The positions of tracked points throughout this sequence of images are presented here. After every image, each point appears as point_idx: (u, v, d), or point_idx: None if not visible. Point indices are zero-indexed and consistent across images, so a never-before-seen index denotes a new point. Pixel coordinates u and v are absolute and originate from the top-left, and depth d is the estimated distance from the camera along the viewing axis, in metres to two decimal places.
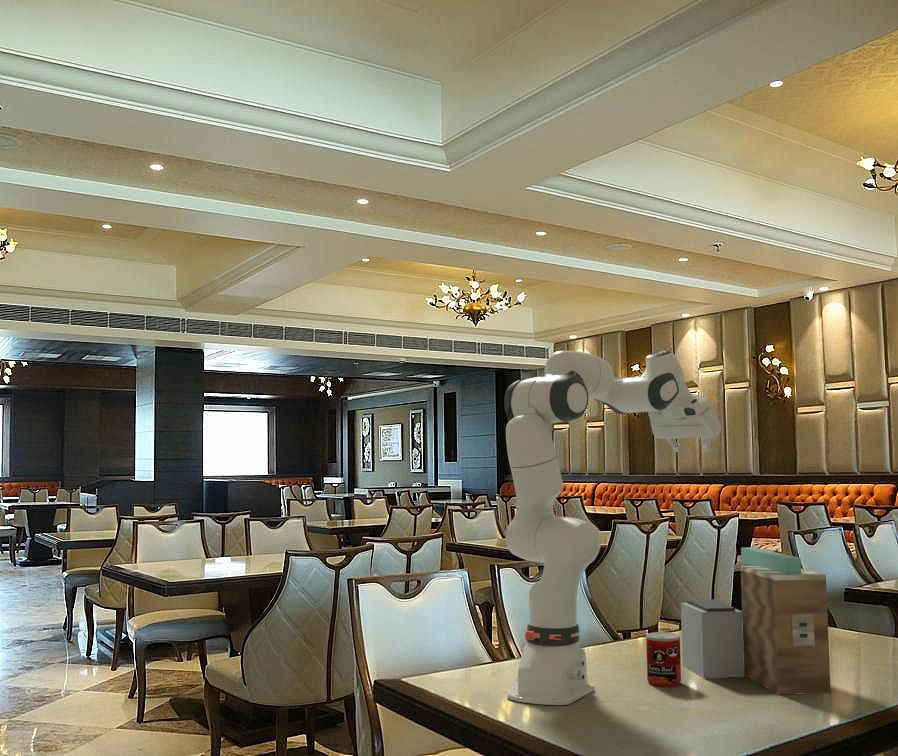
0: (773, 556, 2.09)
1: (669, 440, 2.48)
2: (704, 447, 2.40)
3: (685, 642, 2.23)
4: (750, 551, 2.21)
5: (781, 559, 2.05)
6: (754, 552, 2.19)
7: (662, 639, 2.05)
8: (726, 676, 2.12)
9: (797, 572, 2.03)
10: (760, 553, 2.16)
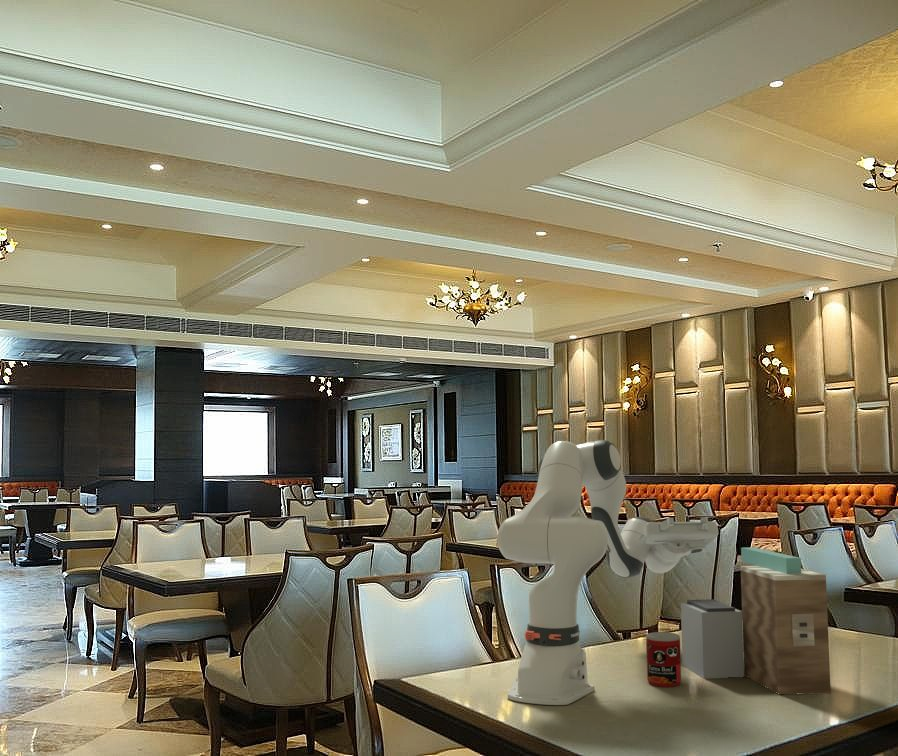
0: (773, 556, 2.09)
1: None
2: None
3: (685, 642, 2.23)
4: (750, 551, 2.21)
5: (781, 559, 2.05)
6: (754, 552, 2.19)
7: (662, 639, 2.05)
8: (726, 676, 2.12)
9: (797, 572, 2.03)
10: (760, 553, 2.16)
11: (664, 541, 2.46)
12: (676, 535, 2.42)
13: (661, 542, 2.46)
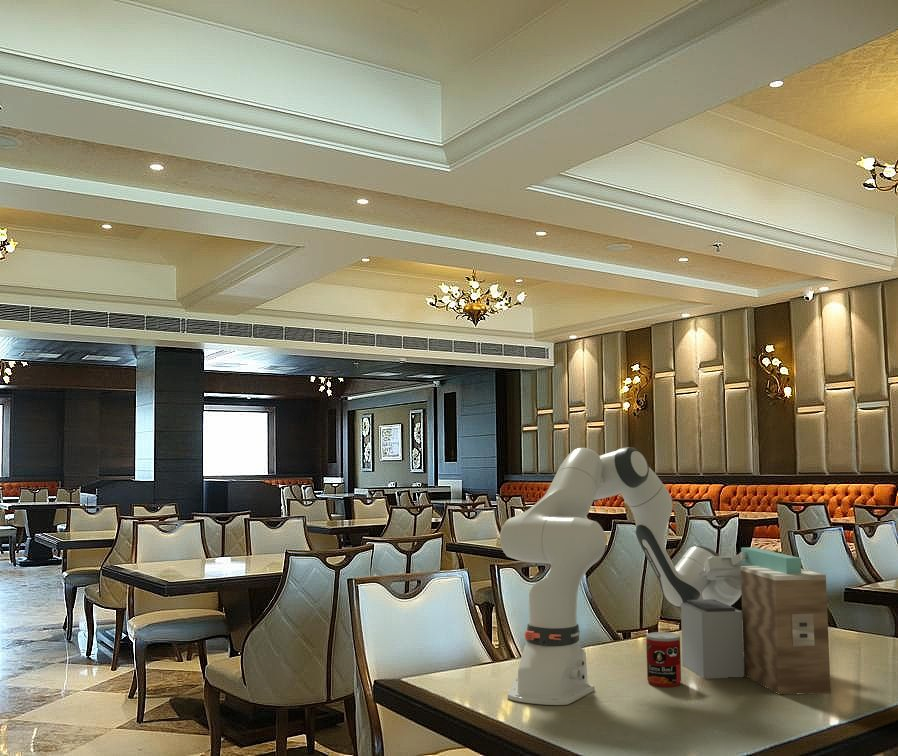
0: (773, 556, 2.09)
1: None
2: None
3: (685, 642, 2.23)
4: (750, 551, 2.21)
5: (781, 559, 2.05)
6: (754, 552, 2.19)
7: (662, 639, 2.05)
8: (726, 676, 2.12)
9: (797, 572, 2.03)
10: (760, 553, 2.16)
11: (726, 576, 2.30)
12: None
13: (723, 577, 2.30)
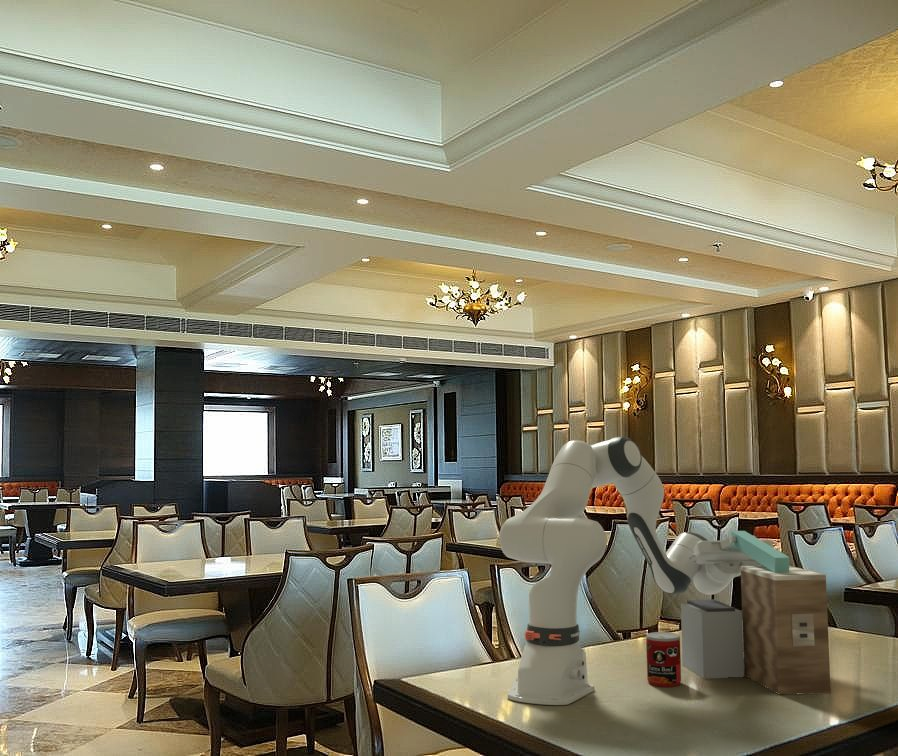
0: (762, 551, 2.10)
1: None
2: None
3: (685, 642, 2.23)
4: (740, 538, 2.23)
5: (770, 557, 2.07)
6: (744, 540, 2.20)
7: (662, 639, 2.05)
8: (726, 676, 2.12)
9: (785, 571, 2.05)
10: (750, 543, 2.17)
11: (716, 561, 2.32)
12: (730, 554, 2.28)
13: (713, 562, 2.32)
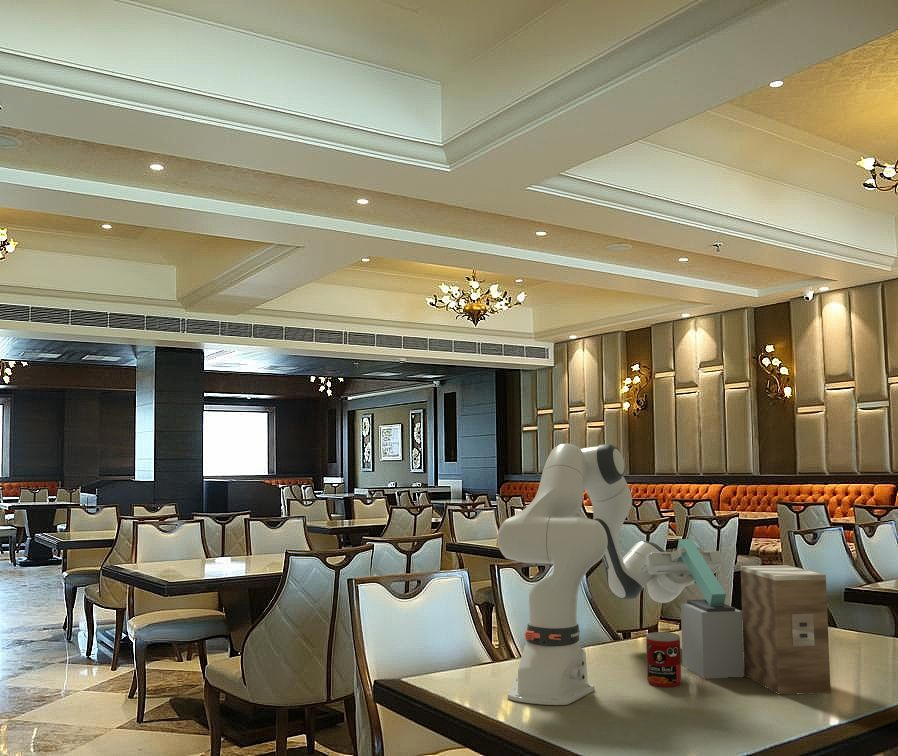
0: (702, 580, 2.21)
1: None
2: None
3: (685, 642, 2.23)
4: None
5: (708, 590, 2.18)
6: (688, 557, 2.31)
7: (662, 639, 2.05)
8: (726, 676, 2.12)
9: (720, 605, 2.17)
10: (693, 564, 2.28)
11: (667, 571, 2.40)
12: (680, 565, 2.37)
13: (664, 572, 2.40)
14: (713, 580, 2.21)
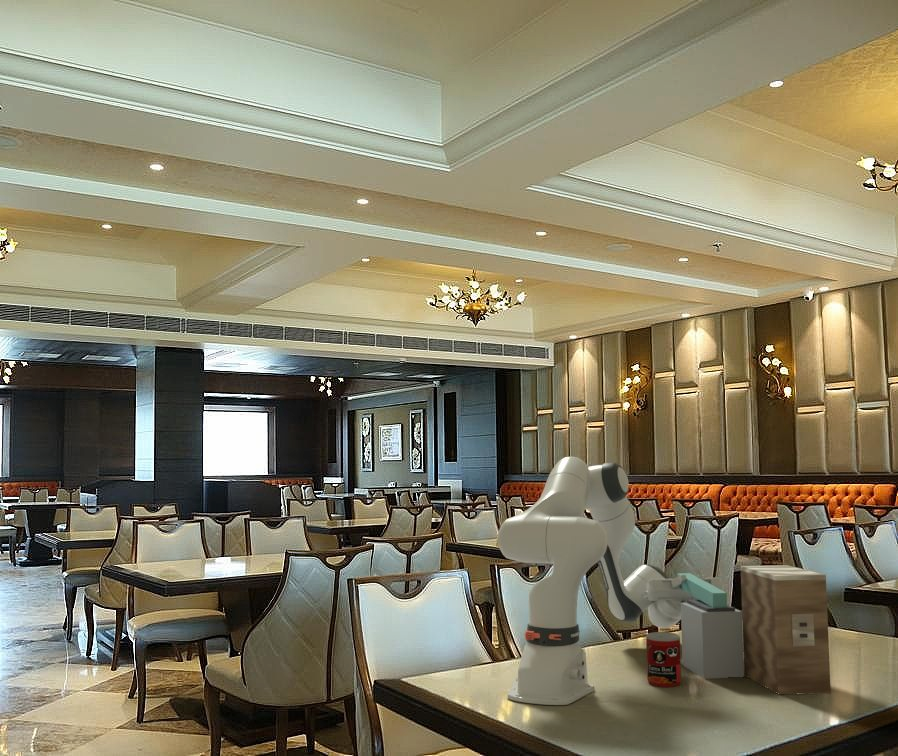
0: (702, 588, 2.21)
1: None
2: None
3: (685, 642, 2.23)
4: None
5: (709, 593, 2.17)
6: (687, 580, 2.31)
7: (662, 639, 2.05)
8: (726, 676, 2.12)
9: (723, 606, 2.15)
10: (692, 583, 2.28)
11: (668, 598, 2.39)
12: (680, 592, 2.36)
13: (665, 599, 2.39)
14: (713, 588, 2.21)
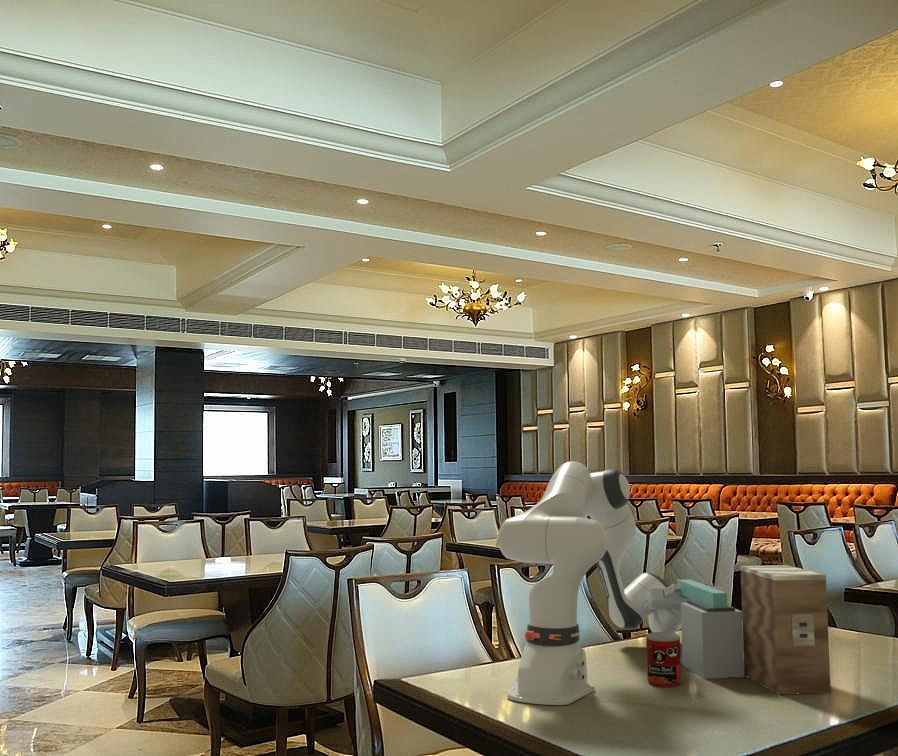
0: (703, 590, 2.21)
1: None
2: None
3: (685, 642, 2.23)
4: (684, 584, 2.33)
5: (709, 594, 2.17)
6: (687, 585, 2.31)
7: (662, 639, 2.05)
8: (726, 676, 2.12)
9: (723, 606, 2.15)
10: (692, 586, 2.28)
11: (668, 607, 2.39)
12: (681, 601, 2.36)
13: (665, 608, 2.39)
14: (713, 589, 2.21)
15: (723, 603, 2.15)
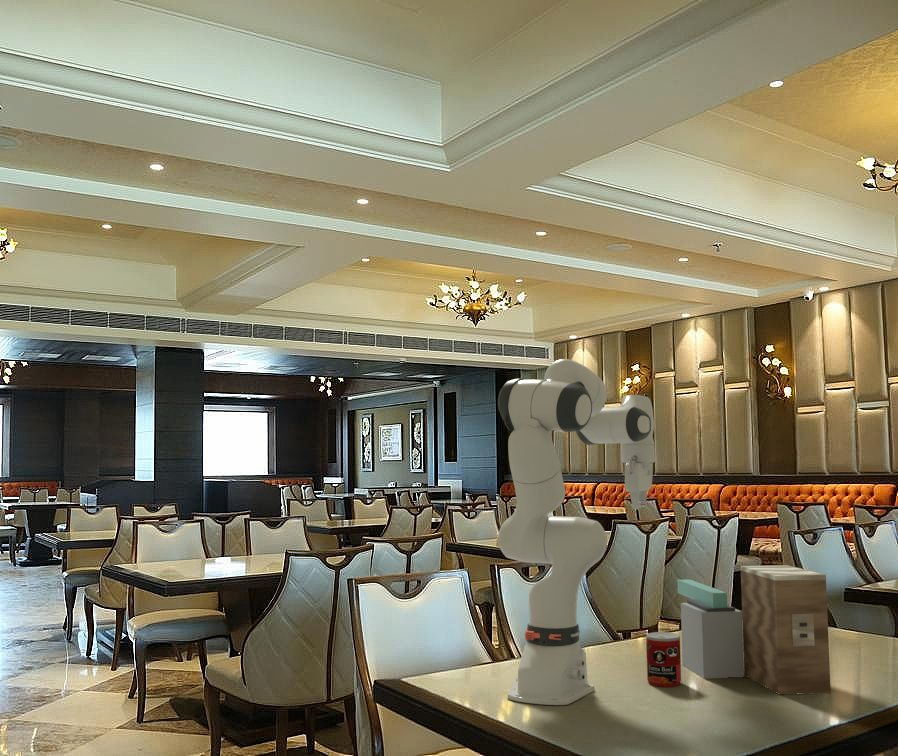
0: (703, 590, 2.21)
1: (638, 494, 2.31)
2: (645, 501, 2.40)
3: (685, 642, 2.23)
4: (684, 584, 2.33)
5: (709, 594, 2.17)
6: (687, 585, 2.31)
7: (662, 639, 2.05)
8: (726, 676, 2.12)
9: (723, 606, 2.15)
10: (692, 586, 2.28)
11: None
12: None
13: None
14: (713, 589, 2.21)
15: (723, 603, 2.15)
